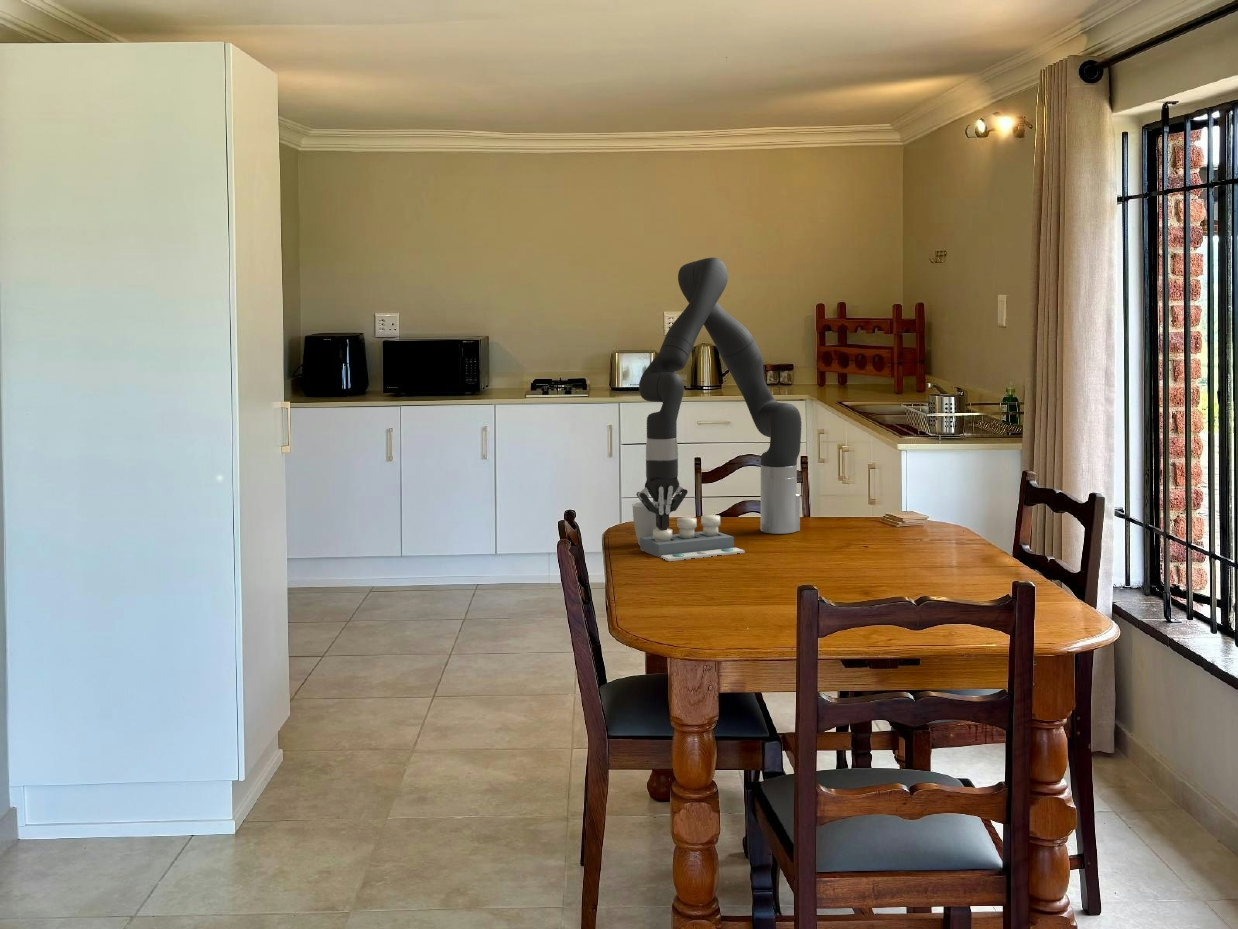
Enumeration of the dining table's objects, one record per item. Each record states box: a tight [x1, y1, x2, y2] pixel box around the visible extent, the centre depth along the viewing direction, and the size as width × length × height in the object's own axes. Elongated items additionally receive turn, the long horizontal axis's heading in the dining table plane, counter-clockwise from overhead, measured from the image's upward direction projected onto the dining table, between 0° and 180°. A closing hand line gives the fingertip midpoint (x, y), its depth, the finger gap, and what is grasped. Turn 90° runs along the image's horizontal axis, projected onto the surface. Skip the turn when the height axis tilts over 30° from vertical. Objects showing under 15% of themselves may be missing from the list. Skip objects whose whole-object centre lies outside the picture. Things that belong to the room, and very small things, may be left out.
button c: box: [653, 527, 673, 542], centre depth 279 cm, size 5×5×5 cm
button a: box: [700, 514, 721, 537], centre depth 284 cm, size 5×5×5 cm
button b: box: [676, 516, 698, 539], centre depth 281 cm, size 5×5×5 cm
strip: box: [660, 547, 746, 562], centre depth 274 cm, size 20×4×1 cm, turn 115°
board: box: [639, 530, 735, 558], centre depth 281 cm, size 20×10×3 cm, turn 115°
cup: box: [632, 501, 658, 546], centre depth 288 cm, size 8×8×10 cm
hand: (662, 529), depth 278 cm, fingers closed
